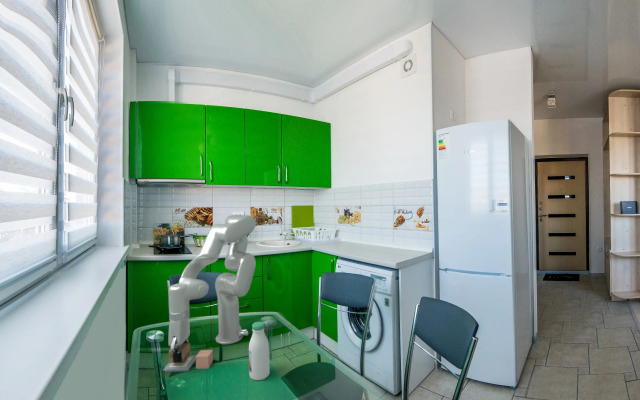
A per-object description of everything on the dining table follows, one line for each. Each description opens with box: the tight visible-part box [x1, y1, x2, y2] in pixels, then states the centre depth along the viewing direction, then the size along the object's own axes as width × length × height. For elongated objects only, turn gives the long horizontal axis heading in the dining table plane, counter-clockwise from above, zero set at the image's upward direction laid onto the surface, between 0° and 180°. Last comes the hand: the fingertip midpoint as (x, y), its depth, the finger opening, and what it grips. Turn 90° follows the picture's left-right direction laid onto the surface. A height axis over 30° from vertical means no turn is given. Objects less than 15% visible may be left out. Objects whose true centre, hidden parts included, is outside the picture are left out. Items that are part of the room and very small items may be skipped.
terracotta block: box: [195, 349, 214, 370], centre depth 125 cm, size 5×5×5 cm
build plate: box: [162, 354, 197, 372], centre depth 126 cm, size 10×10×1 cm
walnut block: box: [168, 342, 191, 363], centre depth 126 cm, size 6×6×5 cm
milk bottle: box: [248, 321, 271, 381], centre depth 117 cm, size 8×8×20 cm
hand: (181, 357), depth 126 cm, fingers closed on walnut block, 5 cm apart
